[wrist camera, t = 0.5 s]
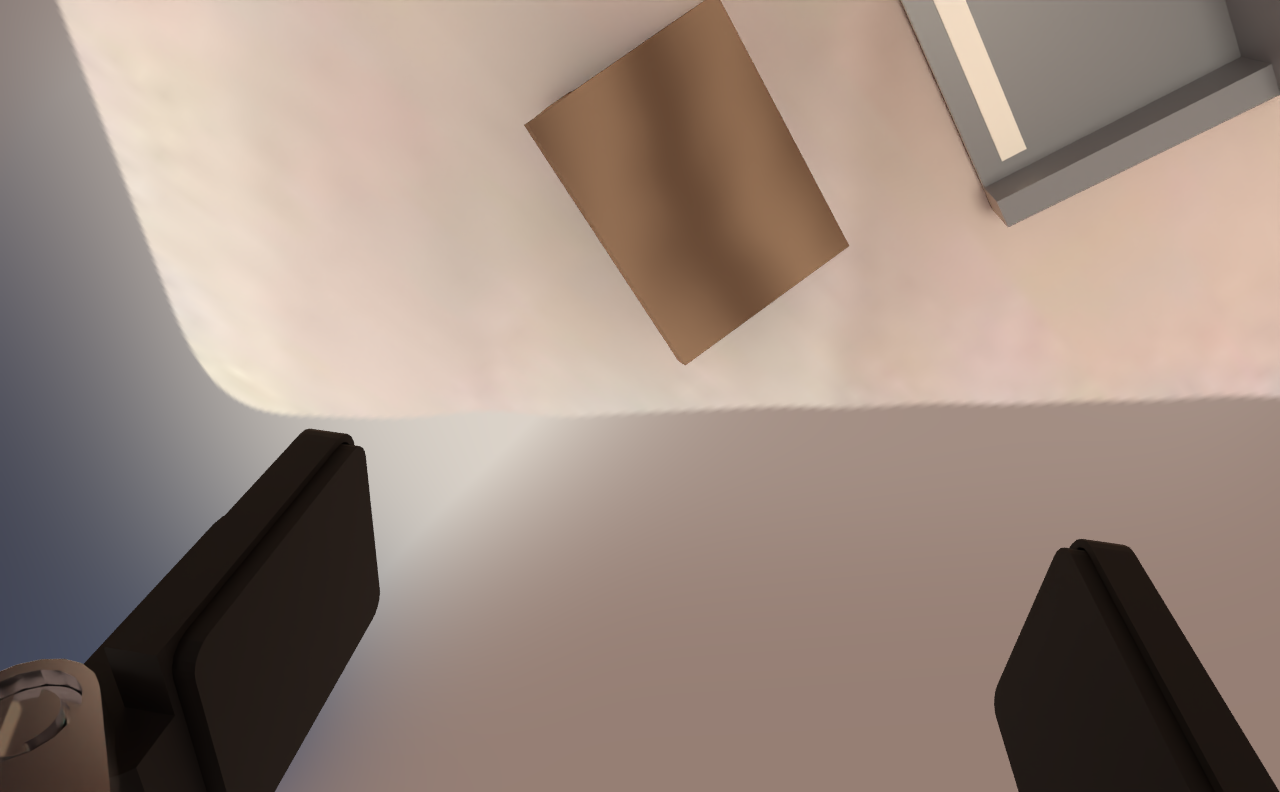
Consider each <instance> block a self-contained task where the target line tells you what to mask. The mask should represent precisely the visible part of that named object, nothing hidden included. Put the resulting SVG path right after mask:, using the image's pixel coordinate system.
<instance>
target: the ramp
mask: <svg viewBox="0 0 1280 792" xmlns="http://www.w3.org/2000/svg"><path fill="white" fill-rule="evenodd" d="M524 126H525V127H526V129H527V130H528V132H529V133H530V135H531V136H532V138H533V139H534V141H535V142H536V144H537V146H538V147H539V149H540V150H541V152H542V153H543V155H544V156H545V158H546V159H547V161H548V162H549V164H550V165H551V167H552V168H553V170H554V172H555V173H556V175H557V176H558V178H559V179H560V181H561V182H562V184H563V185H564V187H565V188H566V190H567V191H568V193H569V194H570V196H571V198H572V199H573V201H574V202H575V204H576V205H577V207H578V208H579V210H580V211H581V213H582V214H583V216H584V217H585V219H586V220H587V222H588V223H589V225H590V227H591V228H592V230H593V231H594V233H595V234H596V236H597V237H598V239H599V240H600V242H601V243H602V245H603V246H604V248H605V249H606V251H607V253H608V254H609V256H610V257H611V259H612V260H613V262H614V263H615V265H616V266H617V268H618V269H619V271H620V272H621V274H622V275H623V277H624V279H625V280H626V282H627V283H628V285H629V286H630V288H631V289H632V291H633V292H634V294H635V295H636V297H637V298H638V300H639V301H640V303H641V304H642V306H643V308H644V309H645V311H646V312H647V314H648V315H649V317H650V318H651V320H652V321H653V323H654V324H655V326H656V327H657V329H658V330H659V332H660V334H661V335H662V337H663V338H664V340H665V341H666V343H667V344H668V346H669V347H670V349H671V350H672V352H673V353H674V355H675V356H676V358H677V360H678V361H679V362H681V363H682V364H684V365H686V364H688V363H689V362H690V361H692V360H693V359H695V358H696V357H697V356H699V355H700V354H701V353H703V352H704V351H706V350H707V349H708V348H710V347H711V346H712V345H714V344H715V343H717V342H718V341H719V340H721V339H722V338H723V337H725V336H726V335H728V334H729V333H730V332H732V331H733V330H734V329H736V328H737V327H739V326H740V325H741V324H743V323H744V322H745V321H747V320H748V319H749V318H751V317H752V316H754V315H755V314H756V313H758V312H759V311H760V310H762V309H763V308H765V307H766V306H767V305H769V304H770V303H771V302H773V301H774V300H776V299H777V298H778V297H780V296H781V295H782V294H784V293H785V292H787V291H788V290H789V289H791V288H792V287H793V286H795V285H796V284H798V283H799V282H800V281H802V280H803V279H804V278H806V277H807V276H808V275H810V274H811V273H813V272H814V271H815V270H817V269H818V268H819V267H821V266H822V265H824V264H825V263H826V262H828V261H829V260H830V259H832V258H833V257H835V256H836V255H837V254H839V253H840V252H841V251H843V250H844V249H846V248H847V247H848V246H849V244H848V243H847V241H846V239H845V237H844V235H843V233H842V231H841V229H840V227H839V225H838V224H837V222H836V220H835V218H834V216H833V214H832V212H831V210H830V208H829V206H828V205H827V203H826V201H825V199H824V197H823V195H822V193H821V191H820V189H819V187H818V185H817V184H816V182H815V180H814V178H813V176H812V174H811V172H810V170H809V168H808V166H807V165H806V163H805V161H804V159H803V157H802V155H801V153H800V151H799V149H798V147H797V145H796V144H795V142H794V140H793V138H792V136H791V134H790V132H789V130H788V128H787V126H786V125H785V123H784V121H783V119H782V117H781V115H780V113H779V111H778V109H777V107H776V106H775V104H774V102H773V100H772V98H771V96H770V94H769V92H768V90H767V88H766V86H765V85H764V83H763V81H762V79H761V77H760V75H759V73H758V71H757V69H756V67H755V66H754V64H753V62H752V60H751V58H750V56H749V54H748V52H747V50H746V48H745V47H744V45H743V43H742V41H741V39H740V37H739V35H738V33H737V31H736V29H735V27H734V26H733V24H732V22H731V20H730V18H729V16H728V14H727V12H726V10H725V8H724V7H723V5H722V3H721V1H720V0H705V1H704V2H702V3H701V4H699V5H698V6H696V7H695V8H693V9H692V10H690V11H689V12H687V13H686V14H684V15H683V16H682V17H680V18H679V19H677V20H676V21H674V22H673V23H671V24H670V25H668V26H667V27H665V28H664V29H662V30H661V31H660V32H658V33H657V34H655V35H654V36H652V37H651V38H649V39H648V40H647V41H645V42H644V43H642V44H641V45H639V46H638V47H636V48H635V49H634V50H632V51H631V52H629V53H628V54H626V55H625V56H623V57H622V58H621V59H619V60H618V61H616V62H615V63H613V64H612V65H610V66H609V67H608V68H606V69H605V70H603V71H602V72H600V73H599V74H597V75H596V76H595V77H593V78H592V79H590V80H589V81H587V82H586V83H584V84H583V85H581V86H580V87H579V88H577V89H576V90H574V91H573V92H572V91H571V92H569V93H568V94H566V95H565V96H563V97H562V98H560V99H559V100H557V101H556V102H555V103H553V104H552V105H550V106H549V107H547V108H546V109H545V110H544V111H542V112H541V113H540V114H539V115H537V116H536V117H535V118H534V119H532V120H531V121H529V122H528V123H527V124H525V125H524Z"/></svg>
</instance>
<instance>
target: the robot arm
mask: <svg viewBox="0 0 1280 792" xmlns="http://www.w3.org/2000/svg"><path fill="white" fill-rule="evenodd" d="M366 465H367V464H366V456H365V451H364V449H363V448H362V447H360V446H355V445H354V441H353V439H352V437H351V436H350V435H348V434H344V433H337V432H330V431H323V430H316V429H306V430H304V431H303V432H302V433H301V434H300V435H299V436H298V437H297V438H296V439H295V440H294V441H293V442H292V443H291V444H290V446H289V447H288V448H287V449H286V450H285V451H284V452H283V453H282V454H281V455H280V456H279V458H278V459H277V460H276V461H275V462H274V463H273V464H272V465H271V466H270V467H269V468H268V469H267V470H266V471H265V473H264V474H263V475H262V476H261V477H260V478H259V479H258V480H257V481H256V482H255V483H254V484H253V486H252V487H251V488H250V489H249V490H248V491H247V492H246V493H245V494H244V495H243V496H242V497H241V499H240V500H239V501H238V502H237V503H236V504H235V505H234V506H233V507H232V508H231V509H230V510H229V512H228V513H227V514H226V515H225V516H223V517H222V518H220V519H219V520H218V521H217V522H216V523H214V524H213V525H212V527H211V528H210V529H209V530H208V531H207V532H206V533H205V534H204V535H203V536H202V537H201V538H200V539H199V540H198V542H197V543H196V544H195V545H194V546H193V547H192V548H191V549H190V550H189V551H188V552H187V553H186V554H185V556H184V557H183V558H182V559H181V560H180V561H179V562H178V563H177V564H176V565H175V566H174V567H173V568H172V569H171V571H170V572H169V573H168V574H167V575H166V576H165V577H164V578H163V579H162V580H161V581H160V582H159V583H158V585H157V586H156V587H155V588H154V589H153V590H152V591H151V592H150V593H149V594H148V595H147V597H146V598H145V599H144V600H143V601H142V602H141V603H140V604H139V605H138V606H137V607H136V608H135V610H133V611H132V613H131V614H130V615H129V616H128V617H127V618H126V619H125V620H124V621H123V622H122V623H121V624H120V625H119V627H118V628H117V629H116V630H115V631H114V632H113V633H112V634H111V635H110V636H109V637H108V638H107V639H106V640H105V642H104V643H103V644H102V645H101V646H100V647H99V648H98V649H97V650H96V651H95V652H94V653H93V654H92V656H91V657H90V658H89V659H88V660H87V661H86V662H85V663H84V664H82V663H78V662H75V661H71V660H67V659H41V660H36V661H32V662H27V663H22V664H18V665H15V666H12V667H10V668H8V669H5V670H3V671H0V792H275V790H276V788H277V786H278V785H279V783H280V781H281V779H282V778H283V776H284V774H285V772H286V771H287V769H288V767H289V765H290V764H291V762H292V760H293V758H294V757H295V755H296V753H297V751H298V750H299V748H300V746H301V744H302V743H303V741H304V739H305V737H306V735H307V734H308V732H309V730H310V728H311V727H312V725H313V723H314V721H315V719H316V718H317V716H318V714H319V712H320V711H321V709H322V707H323V705H324V704H325V702H326V700H327V698H328V697H329V695H330V693H331V691H332V690H333V688H334V686H335V684H336V683H337V681H338V679H339V677H340V675H341V674H342V672H343V670H344V668H345V666H346V665H347V663H348V661H349V660H350V658H351V656H352V654H353V653H354V651H355V649H356V647H357V646H358V644H359V642H360V640H361V638H362V637H363V635H364V633H365V631H366V630H367V628H368V626H369V624H370V623H371V621H372V619H373V617H374V615H375V613H376V609H377V607H378V602H379V596H380V587H379V578H378V570H377V569H378V568H377V560H376V549H375V541H374V531H373V521H372V513H371V503H370V492H369V483H368V473H367V466H366ZM994 706H995V714H996V718H997V721H998V725H999V728H1000V731H1001V735H1002V738H1003V741H1004V745H1005V748H1006V751H1007V754H1008V758H1009V761H1010V764H1011V768H1012V771H1013V774H1014V778H1015V781H1016V784H1017V788H1018V791H1019V792H1279V791H1278V789H1277V787H1276V785H1275V784H1274V782H1273V781H1272V779H1271V777H1270V776H1269V774H1268V772H1267V771H1266V769H1265V767H1264V766H1263V764H1262V762H1261V761H1260V759H1259V757H1258V756H1257V754H1256V753H1255V751H1254V749H1253V748H1252V746H1251V744H1250V743H1249V741H1248V739H1247V738H1246V736H1245V734H1244V733H1243V732H1242V729H1241V728H1240V726H1239V725H1238V723H1237V721H1236V720H1235V718H1234V716H1233V715H1232V713H1231V711H1230V710H1229V708H1228V706H1227V705H1226V703H1225V702H1224V700H1223V698H1222V697H1221V695H1220V693H1219V692H1218V690H1217V688H1216V687H1215V685H1214V683H1213V682H1212V680H1211V679H1210V677H1209V675H1208V674H1207V672H1206V670H1205V669H1204V667H1203V665H1202V664H1201V662H1200V660H1199V659H1198V657H1197V655H1196V654H1195V652H1194V651H1193V649H1192V647H1191V646H1190V644H1189V642H1188V641H1187V639H1186V637H1185V636H1184V634H1183V632H1182V631H1181V629H1180V628H1179V626H1178V624H1177V623H1176V621H1175V619H1174V618H1173V616H1172V614H1171V613H1170V611H1169V609H1168V608H1167V606H1166V605H1165V603H1164V601H1163V600H1162V598H1161V596H1160V595H1159V593H1158V591H1157V590H1156V588H1155V586H1154V585H1153V583H1152V581H1151V580H1150V578H1149V577H1148V575H1147V573H1146V572H1145V570H1144V568H1143V567H1142V565H1141V564H1140V562H1139V560H1138V558H1137V557H1136V555H1135V554H1134V552H1133V551H1132V550H1131V549H1130V548H1129V547H1127V546H1125V545H1120V544H1114V543H1107V542H1100V541H1093V540H1086V539H1079V540H1076V541H1075V542H1074V543H1073V544H1072V545H1071V546H1070V548H1060V549H1059V550H1058V551H1057V552H1056V554H1055V556H1054V558H1053V560H1052V562H1051V565H1050V567H1049V569H1048V571H1047V574H1046V576H1045V578H1044V581H1043V583H1042V585H1041V587H1040V590H1039V592H1038V594H1037V596H1036V599H1035V601H1034V603H1033V606H1032V608H1031V610H1030V612H1029V615H1028V617H1027V619H1026V621H1025V624H1024V626H1023V628H1022V630H1021V633H1020V635H1019V637H1018V639H1017V642H1016V644H1015V646H1014V649H1013V651H1012V653H1011V655H1010V658H1009V660H1008V662H1007V664H1006V667H1005V669H1004V671H1003V673H1002V676H1001V678H1000V680H999V683H998V685H997V688H996V691H995V699H994Z"/></svg>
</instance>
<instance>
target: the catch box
mask: <svg viewBox="0 0 1280 792" xmlns="http://www.w3.org/2000/svg"><path fill="white" fill-rule="evenodd" d="M900 1H901V3H902V6H903V8H904V10H905V12H906V15H907V17H908V19H909V21H910V24H911V26H912V28H913V31H914V33H915V35H916V37H917V40H918V42H919V44H920V46H921V49H922V51H923V53H924V55H925V58H926V60H927V62H928V64H929V67H930V69H931V71H932V74H933V76H934V78H935V80H936V83H937V85H938V87H939V89H940V92H941V94H942V96H943V98H944V101H945V103H946V105H947V107H948V110H949V112H950V114H951V117H952V119H953V121H954V123H955V126H956V128H957V130H958V132H959V135H960V137H961V139H962V141H963V144H964V146H965V148H966V150H967V153H968V155H969V157H970V160H971V162H972V164H973V166H974V169H975V171H976V173H977V175H978V178H979V180H980V182H981V184H982V187H983V189H984V191H985V193H986V196H987V198H988V200H989V203H990V205H991V207H992V209H993V211H994V212H995V213H996V214H997V215H998V216H999V217H1000V219H1001V220H1002V221H1003V222H1004V223H1005V224H1006V226H1007V227H1010V226H1012V225H1014V224H1016V223H1018V222H1020V221H1022V220H1024V219H1026V218H1028V217H1030V216H1032V215H1034V214H1036V213H1038V212H1040V211H1043V210H1045V209H1047V208H1049V207H1051V206H1053V205H1055V204H1057V203H1059V202H1061V201H1063V200H1065V199H1067V198H1069V197H1071V196H1073V195H1075V194H1077V193H1079V192H1081V191H1084V190H1086V189H1088V188H1090V187H1092V186H1094V185H1096V184H1098V183H1100V182H1102V181H1104V180H1106V179H1108V178H1110V177H1112V176H1114V175H1116V174H1118V173H1120V172H1123V171H1125V170H1127V169H1129V168H1131V167H1133V166H1135V165H1137V164H1139V163H1141V162H1143V161H1145V160H1147V159H1149V158H1151V157H1153V156H1155V155H1157V154H1159V153H1161V152H1164V151H1166V150H1168V149H1170V148H1172V147H1174V146H1176V145H1178V144H1180V143H1182V142H1184V141H1186V140H1188V139H1190V138H1192V137H1194V136H1196V135H1198V134H1200V133H1202V132H1205V131H1207V130H1209V129H1211V128H1213V127H1215V126H1217V125H1219V124H1221V123H1223V122H1225V121H1227V120H1229V119H1231V118H1233V117H1235V116H1237V115H1239V114H1241V113H1243V112H1246V111H1248V110H1250V109H1252V108H1254V107H1256V106H1258V105H1260V104H1262V103H1264V102H1266V101H1268V100H1270V99H1272V98H1274V97H1276V96H1278V95H1280V0H900Z"/></svg>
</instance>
